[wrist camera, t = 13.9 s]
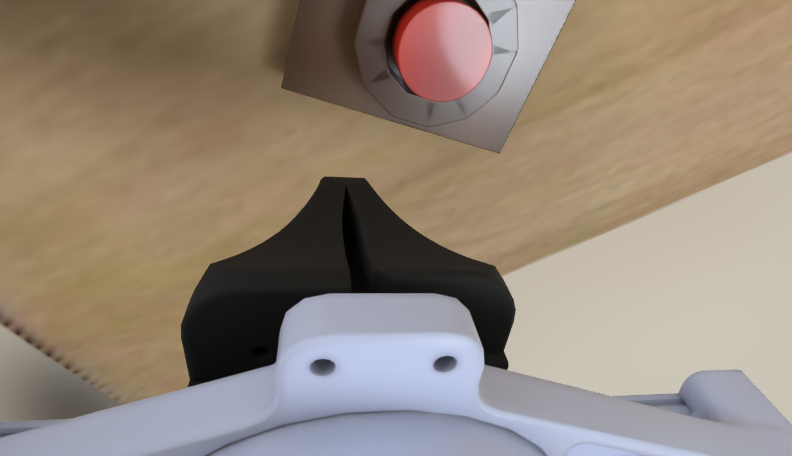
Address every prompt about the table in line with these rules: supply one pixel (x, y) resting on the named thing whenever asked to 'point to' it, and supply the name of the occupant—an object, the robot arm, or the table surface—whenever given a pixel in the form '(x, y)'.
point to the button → (442, 48)
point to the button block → (382, 82)
